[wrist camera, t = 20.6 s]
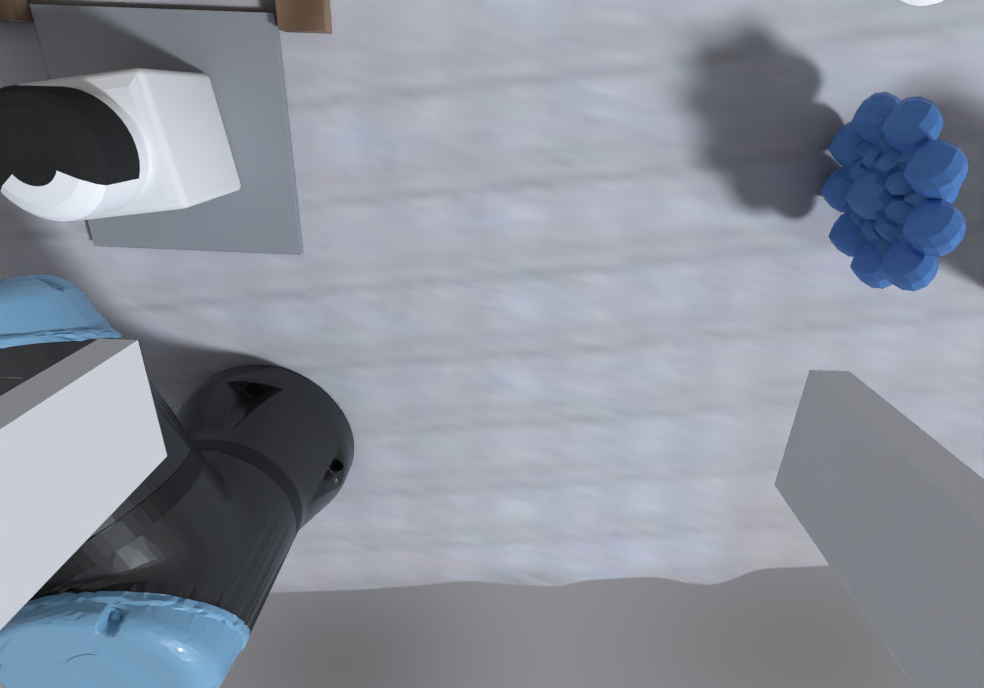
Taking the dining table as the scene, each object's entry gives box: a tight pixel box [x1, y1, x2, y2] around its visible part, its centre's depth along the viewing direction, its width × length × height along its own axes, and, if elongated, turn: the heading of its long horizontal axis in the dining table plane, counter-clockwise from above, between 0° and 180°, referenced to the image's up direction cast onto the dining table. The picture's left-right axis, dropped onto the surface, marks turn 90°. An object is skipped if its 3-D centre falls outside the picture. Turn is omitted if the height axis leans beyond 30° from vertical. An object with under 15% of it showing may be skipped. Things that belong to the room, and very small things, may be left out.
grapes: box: [821, 92, 969, 291], centre depth 34 cm, size 12×7×12 cm, turn 6°
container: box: [0, 68, 241, 221], centre depth 33 cm, size 8×8×13 cm
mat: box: [30, 4, 303, 255], centre depth 39 cm, size 16×16×1 cm
